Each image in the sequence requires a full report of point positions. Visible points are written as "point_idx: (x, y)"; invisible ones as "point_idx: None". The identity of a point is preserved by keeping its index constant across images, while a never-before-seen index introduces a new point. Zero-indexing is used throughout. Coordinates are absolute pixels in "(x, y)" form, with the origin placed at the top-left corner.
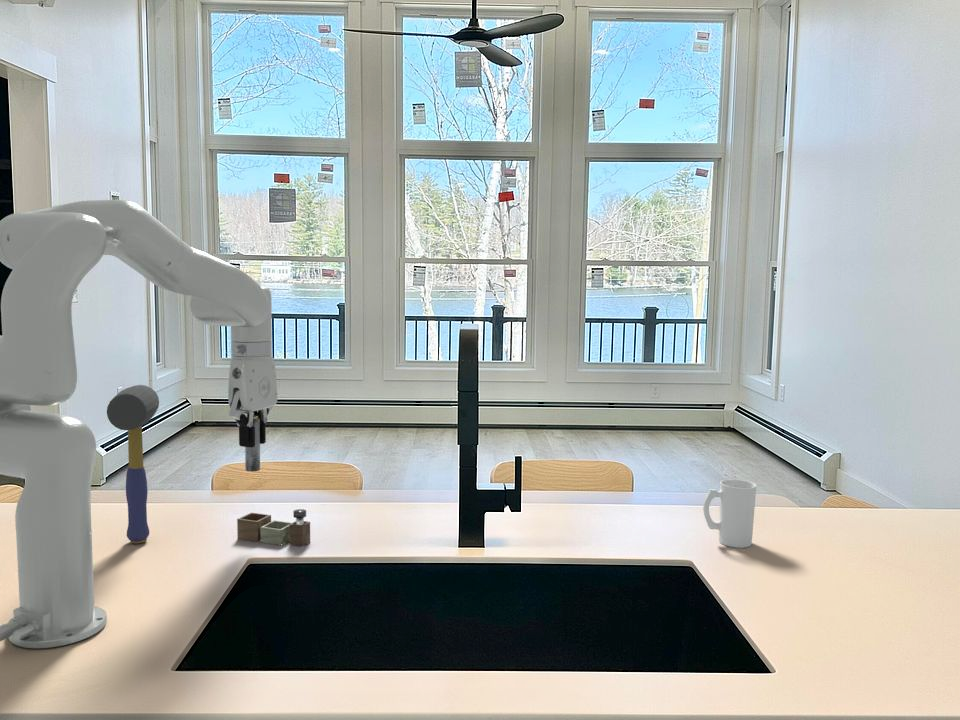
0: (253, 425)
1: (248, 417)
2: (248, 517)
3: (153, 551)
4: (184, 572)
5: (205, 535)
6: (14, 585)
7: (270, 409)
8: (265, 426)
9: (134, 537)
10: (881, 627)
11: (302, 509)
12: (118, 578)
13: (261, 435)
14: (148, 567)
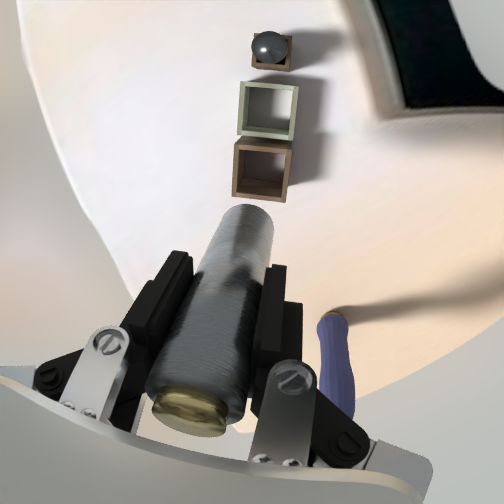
0: (237, 362)
1: (311, 431)
2: (249, 191)
3: (367, 284)
4: (448, 200)
5: (281, 249)
6: (459, 343)
7: (21, 366)
8: (137, 308)
9: (347, 324)
10: None
11: (252, 46)
12: (460, 271)
13: (179, 287)
14: (429, 258)
